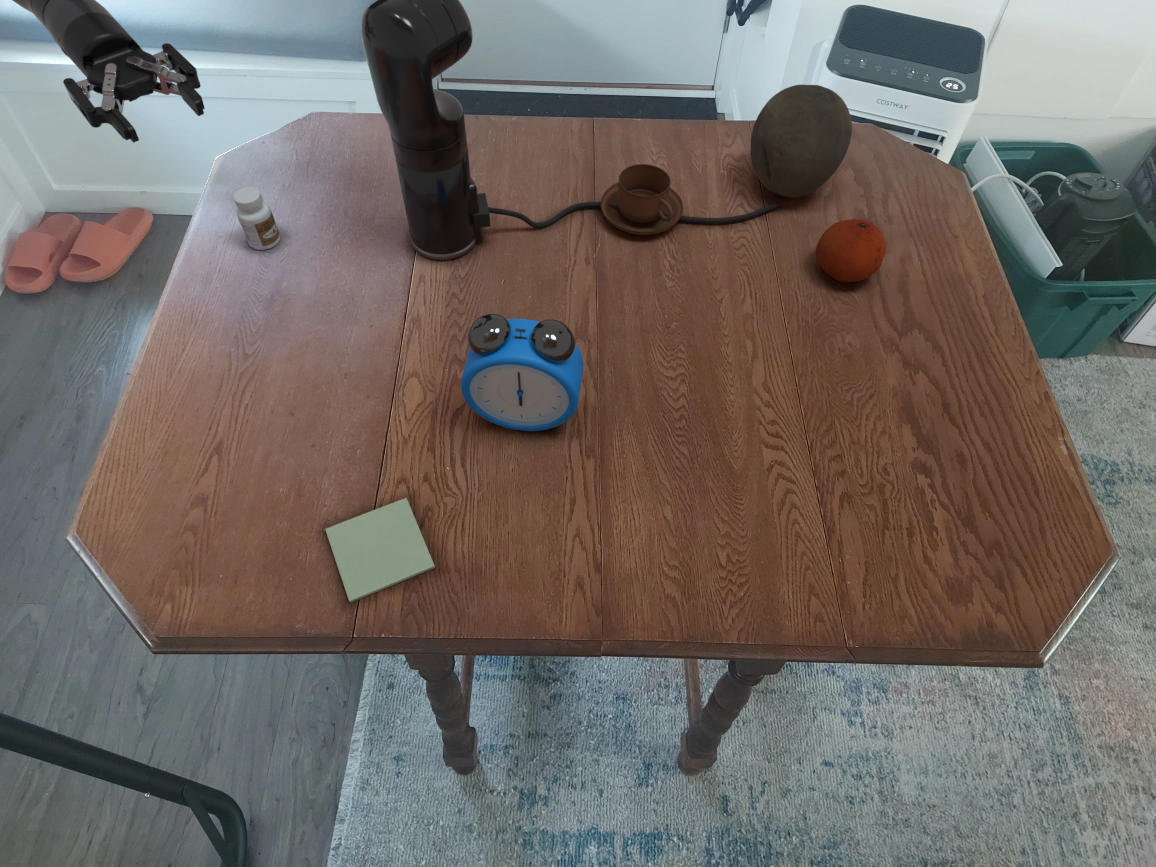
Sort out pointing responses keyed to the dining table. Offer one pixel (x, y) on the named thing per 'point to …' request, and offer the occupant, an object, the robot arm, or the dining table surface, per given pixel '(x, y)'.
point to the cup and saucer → (642, 201)
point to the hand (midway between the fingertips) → (168, 122)
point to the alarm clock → (522, 372)
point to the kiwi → (800, 139)
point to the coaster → (379, 549)
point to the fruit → (851, 250)
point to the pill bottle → (256, 219)
